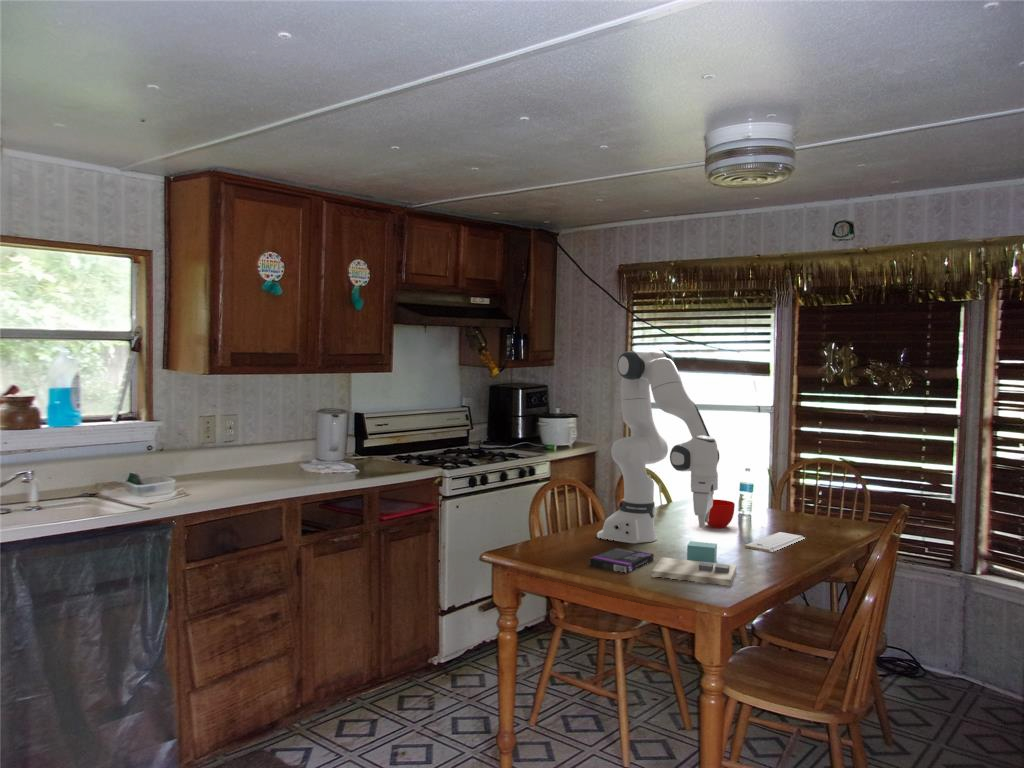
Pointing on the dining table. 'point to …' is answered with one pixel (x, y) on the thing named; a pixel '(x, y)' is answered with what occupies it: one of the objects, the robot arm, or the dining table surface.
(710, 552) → the block
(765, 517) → the dining table surface
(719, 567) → the grey block
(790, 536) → the white spiral notebook
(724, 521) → the red bowl
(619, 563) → the box
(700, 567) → the grey block
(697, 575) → the board
